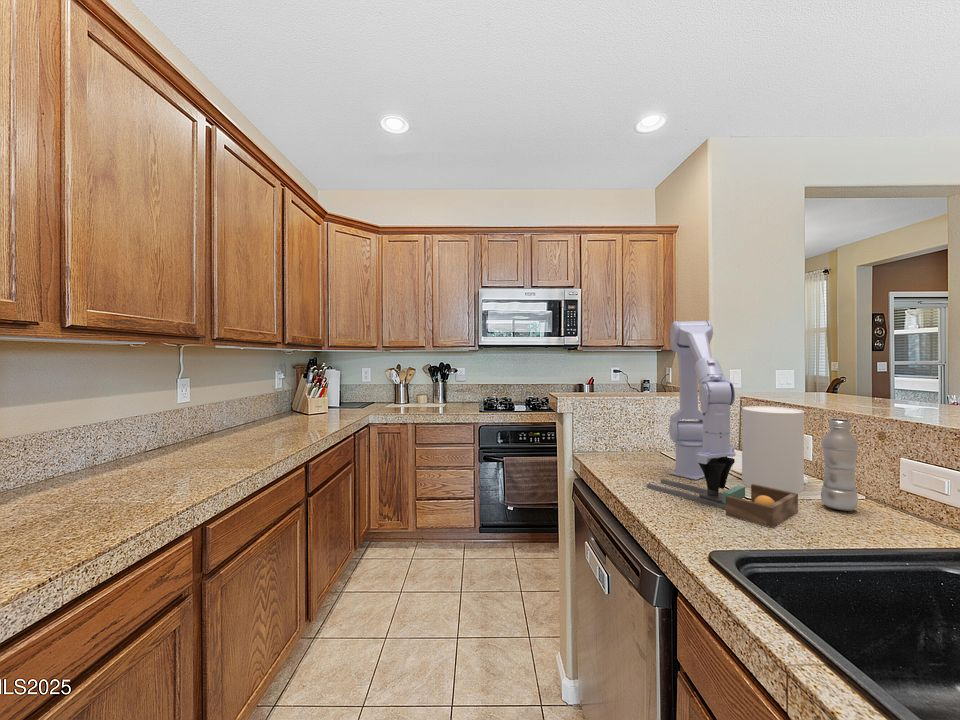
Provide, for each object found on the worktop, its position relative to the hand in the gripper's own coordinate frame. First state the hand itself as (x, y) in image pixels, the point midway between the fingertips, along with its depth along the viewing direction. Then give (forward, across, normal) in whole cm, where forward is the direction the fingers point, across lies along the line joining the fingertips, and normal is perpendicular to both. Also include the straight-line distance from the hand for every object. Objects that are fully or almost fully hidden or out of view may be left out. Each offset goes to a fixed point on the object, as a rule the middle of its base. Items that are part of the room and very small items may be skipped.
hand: (716, 488), depth 102 cm
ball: (+1, 0, -10) cm, 10 cm away
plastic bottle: (+3, +16, -19) cm, 25 cm away
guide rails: (+3, 0, +6) cm, 6 cm away
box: (+3, 0, -9) cm, 10 cm away
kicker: (+3, 0, 0) cm, 3 cm away
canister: (+3, +24, -3) cm, 24 cm away
